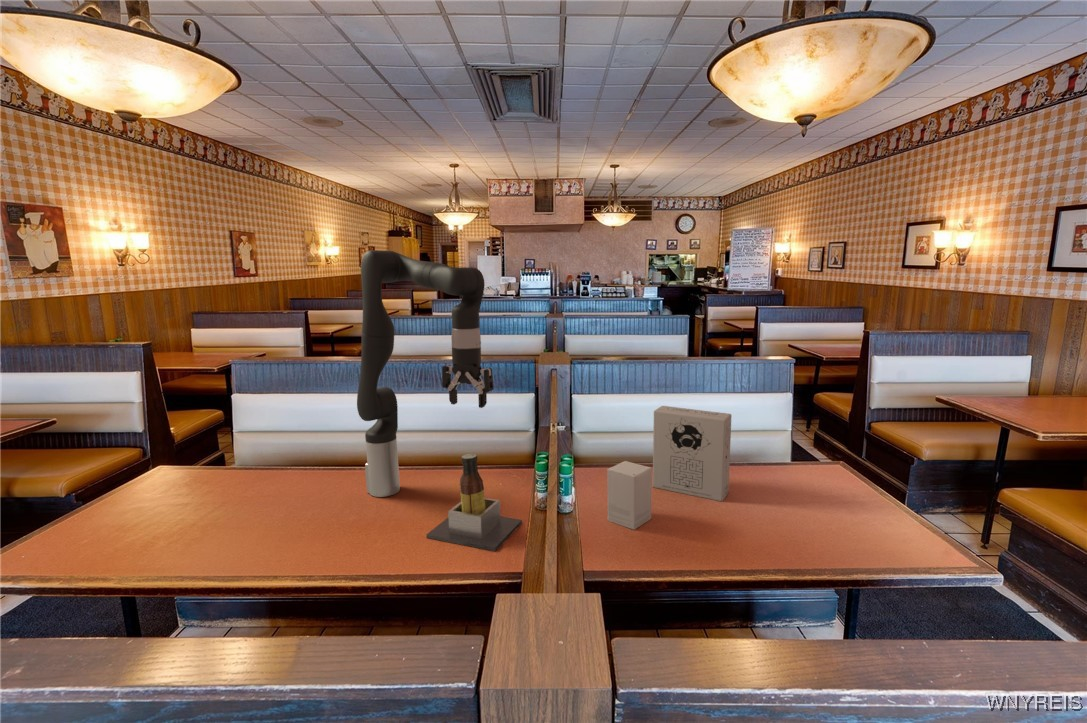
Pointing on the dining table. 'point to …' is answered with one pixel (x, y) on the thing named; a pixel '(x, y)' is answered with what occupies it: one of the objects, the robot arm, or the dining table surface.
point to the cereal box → (692, 452)
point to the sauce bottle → (471, 486)
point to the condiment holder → (476, 527)
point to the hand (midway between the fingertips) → (468, 405)
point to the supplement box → (629, 494)
